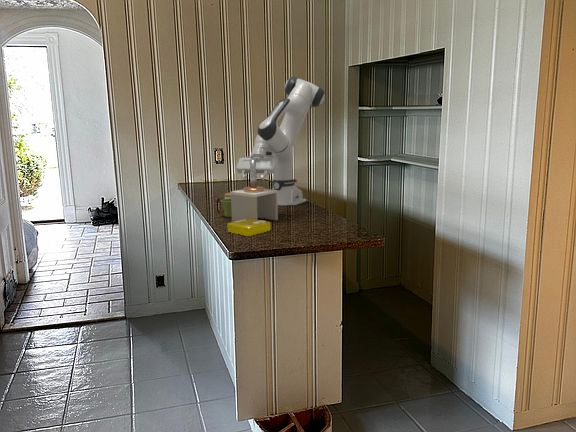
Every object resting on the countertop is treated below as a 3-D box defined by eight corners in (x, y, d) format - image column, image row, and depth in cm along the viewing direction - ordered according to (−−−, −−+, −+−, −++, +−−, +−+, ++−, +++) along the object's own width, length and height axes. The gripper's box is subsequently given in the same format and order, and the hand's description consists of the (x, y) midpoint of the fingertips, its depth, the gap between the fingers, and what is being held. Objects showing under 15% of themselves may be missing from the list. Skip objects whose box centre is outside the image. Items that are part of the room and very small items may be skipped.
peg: (259, 210, 263) (257, 158, 257) (268, 213, 254) (266, 160, 249) (241, 212, 258) (239, 159, 252) (249, 215, 249) (247, 161, 244)
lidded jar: (240, 209, 287) (240, 192, 285) (222, 208, 289) (221, 192, 287) (246, 205, 297) (245, 189, 295) (228, 205, 299) (227, 189, 297)
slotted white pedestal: (254, 216, 268) (253, 187, 265) (277, 219, 258) (277, 190, 255) (231, 221, 256) (230, 191, 253) (256, 226, 246) (255, 194, 243)
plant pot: (222, 218, 263) (222, 201, 261) (220, 215, 272) (219, 198, 270) (241, 217, 266) (240, 200, 264) (237, 214, 274) (237, 197, 273)
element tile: (249, 226, 247) (248, 216, 246) (272, 231, 237) (272, 221, 236) (225, 232, 236) (225, 222, 235) (249, 237, 226) (248, 227, 225)
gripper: (238, 152, 260) (231, 174, 252) (277, 152, 254) (271, 175, 247) (241, 160, 265) (235, 182, 258) (280, 161, 259) (274, 183, 252)
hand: (253, 179), depth 252 cm, fingers open, 8 cm apart
